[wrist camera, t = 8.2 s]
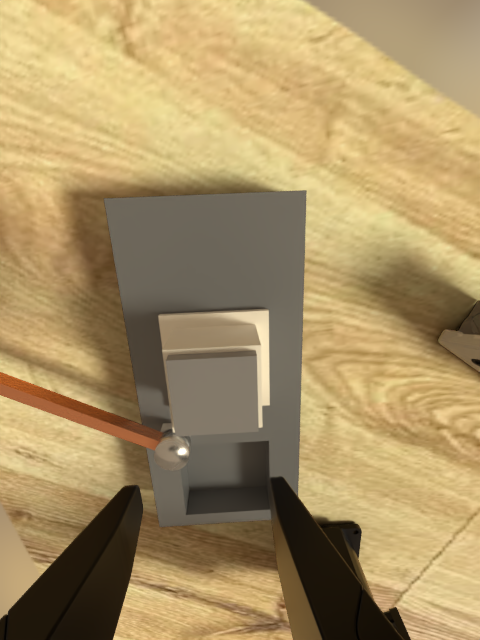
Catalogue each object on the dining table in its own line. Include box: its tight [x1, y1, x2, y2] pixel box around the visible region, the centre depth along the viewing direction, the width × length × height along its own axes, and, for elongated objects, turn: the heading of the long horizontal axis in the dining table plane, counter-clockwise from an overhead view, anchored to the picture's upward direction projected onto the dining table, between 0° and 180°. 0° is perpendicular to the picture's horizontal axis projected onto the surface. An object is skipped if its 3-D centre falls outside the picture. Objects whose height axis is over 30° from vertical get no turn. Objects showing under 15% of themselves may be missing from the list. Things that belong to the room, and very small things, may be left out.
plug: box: [158, 309, 270, 437], centre depth 16 cm, size 6×6×6 cm
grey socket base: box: [104, 190, 306, 527], centre depth 19 cm, size 22×10×4 cm, turn 2°
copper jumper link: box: [0, 372, 191, 471], centre depth 16 cm, size 19×2×1 cm, turn 64°
